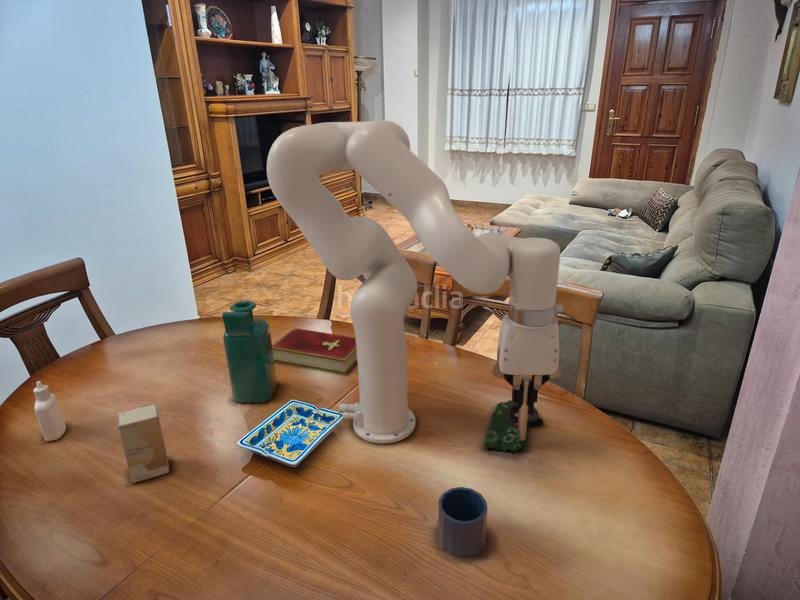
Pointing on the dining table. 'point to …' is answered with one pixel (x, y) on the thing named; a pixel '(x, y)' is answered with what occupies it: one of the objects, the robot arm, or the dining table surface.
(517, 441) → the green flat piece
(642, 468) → the dining table surface
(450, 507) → the pen cup
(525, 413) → the stylus
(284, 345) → the hardcover book
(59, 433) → the eye dropper bottle
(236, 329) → the green bottle
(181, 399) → the dining table surface
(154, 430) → the cosmetic box
